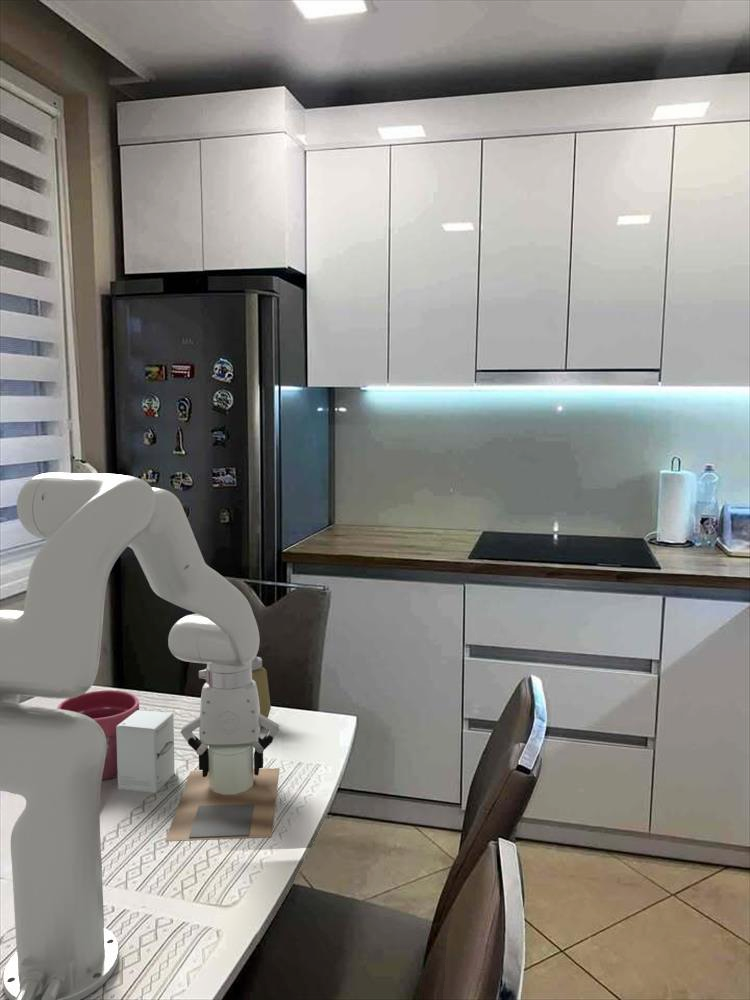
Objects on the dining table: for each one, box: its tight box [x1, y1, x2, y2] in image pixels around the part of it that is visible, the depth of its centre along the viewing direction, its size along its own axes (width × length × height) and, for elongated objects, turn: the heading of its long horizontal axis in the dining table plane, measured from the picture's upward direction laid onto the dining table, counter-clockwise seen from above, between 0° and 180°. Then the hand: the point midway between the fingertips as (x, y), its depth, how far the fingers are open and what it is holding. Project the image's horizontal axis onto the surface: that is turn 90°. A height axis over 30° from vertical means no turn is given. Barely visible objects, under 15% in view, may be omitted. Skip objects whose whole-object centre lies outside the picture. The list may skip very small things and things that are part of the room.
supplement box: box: [116, 709, 176, 794], centre depth 129 cm, size 7×7×13 cm
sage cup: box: [208, 744, 255, 795], centre depth 128 cm, size 8×8×8 cm
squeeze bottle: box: [252, 655, 272, 729], centre depth 155 cm, size 8×8×18 cm
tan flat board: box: [165, 767, 280, 842], centre depth 123 cm, size 22×16×1 cm
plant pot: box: [56, 689, 140, 782], centre depth 135 cm, size 14×14×13 cm
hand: (231, 772), depth 128 cm, fingers open, 8 cm apart
